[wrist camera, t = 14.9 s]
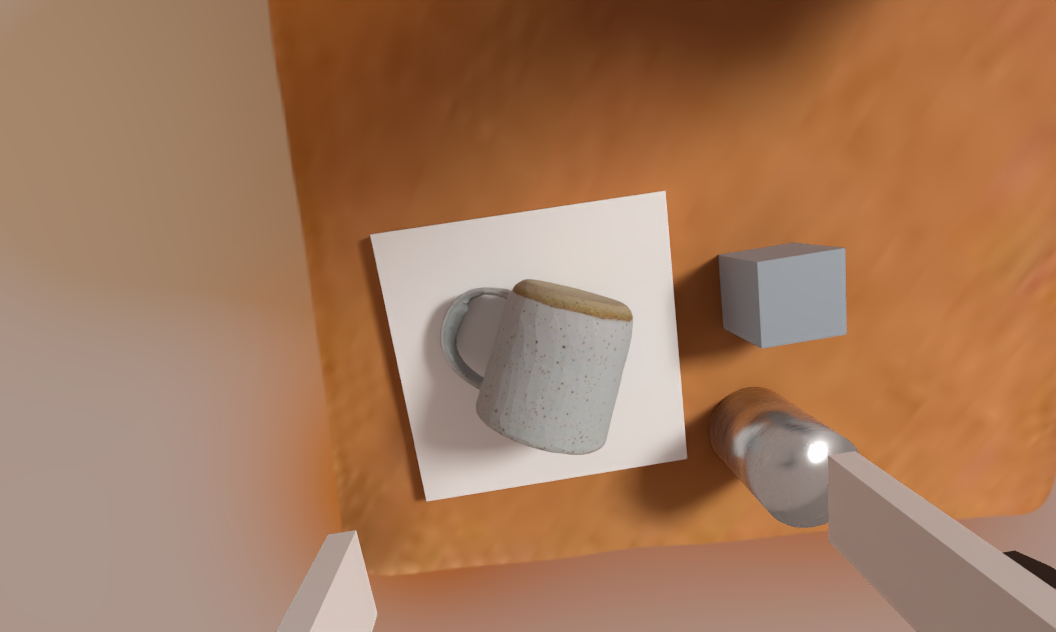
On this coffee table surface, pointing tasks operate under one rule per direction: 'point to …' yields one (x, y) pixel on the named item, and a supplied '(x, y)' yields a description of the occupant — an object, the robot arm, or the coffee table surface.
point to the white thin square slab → (500, 262)
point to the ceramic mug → (547, 364)
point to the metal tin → (777, 453)
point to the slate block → (784, 293)
